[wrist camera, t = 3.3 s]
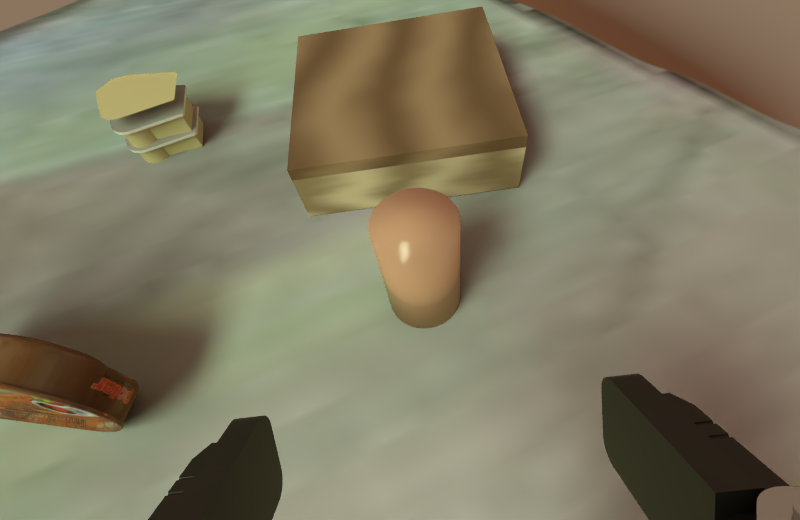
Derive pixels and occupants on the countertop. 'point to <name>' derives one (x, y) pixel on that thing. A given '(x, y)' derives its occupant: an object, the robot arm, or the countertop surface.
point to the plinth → (402, 113)
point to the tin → (61, 386)
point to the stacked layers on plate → (151, 114)
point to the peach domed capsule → (418, 254)
